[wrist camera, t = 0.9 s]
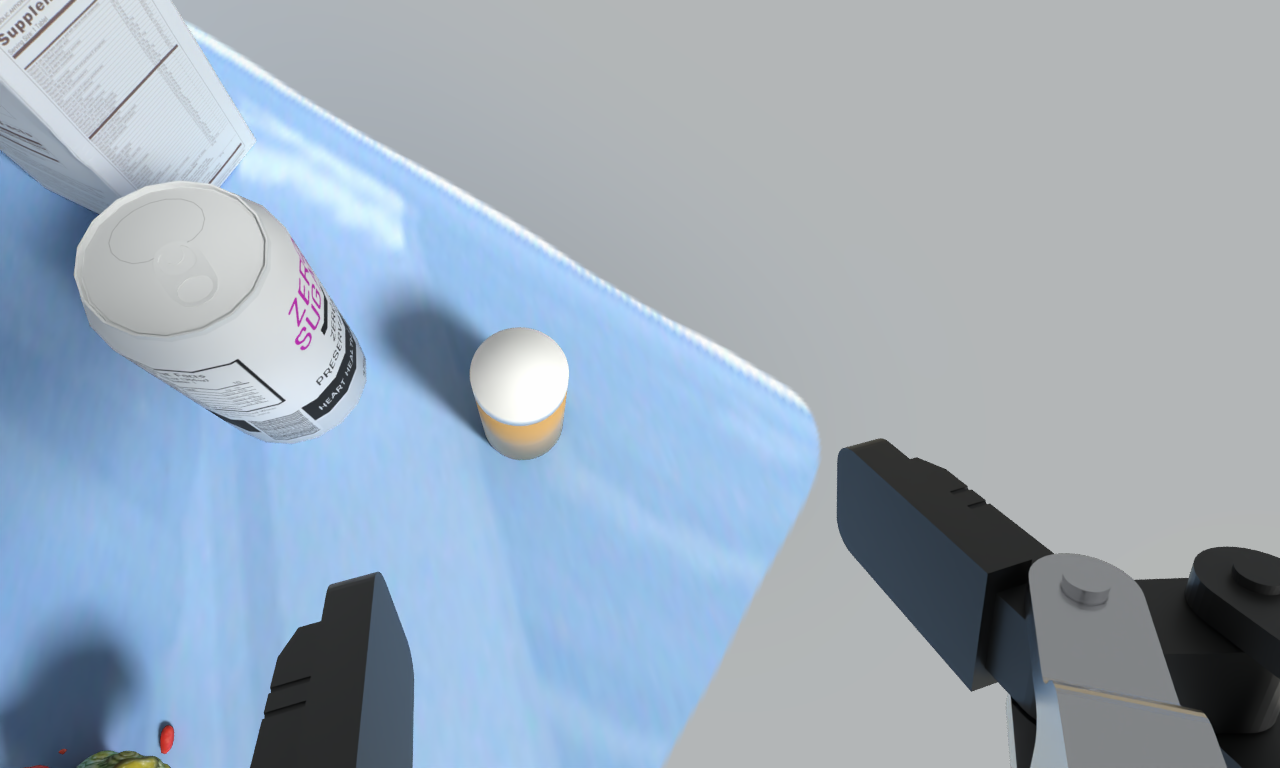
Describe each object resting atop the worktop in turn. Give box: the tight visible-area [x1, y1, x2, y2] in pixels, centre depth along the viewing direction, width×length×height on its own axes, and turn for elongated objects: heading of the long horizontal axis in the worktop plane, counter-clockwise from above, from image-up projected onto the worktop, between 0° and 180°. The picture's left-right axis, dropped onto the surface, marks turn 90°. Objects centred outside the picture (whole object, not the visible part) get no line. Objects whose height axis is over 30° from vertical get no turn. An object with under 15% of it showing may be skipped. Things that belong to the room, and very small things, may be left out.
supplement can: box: [74, 180, 366, 444], centre depth 34 cm, size 8×8×15 cm
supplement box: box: [0, 0, 256, 214], centre depth 37 cm, size 10×9×17 cm
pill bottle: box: [470, 328, 569, 460], centre depth 38 cm, size 5×5×9 cm
